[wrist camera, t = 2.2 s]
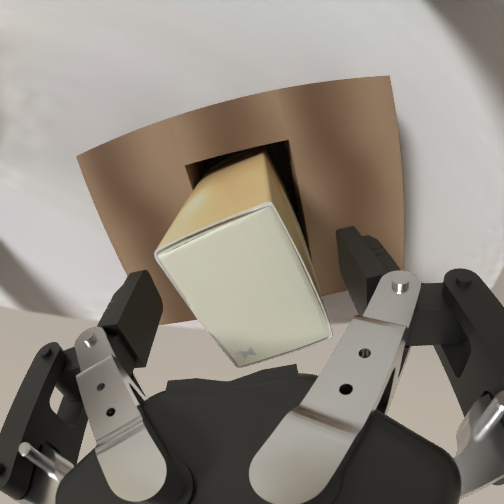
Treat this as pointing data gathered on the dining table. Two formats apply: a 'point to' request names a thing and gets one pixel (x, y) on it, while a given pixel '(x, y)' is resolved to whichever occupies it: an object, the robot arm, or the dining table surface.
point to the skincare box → (245, 262)
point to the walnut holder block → (248, 136)
